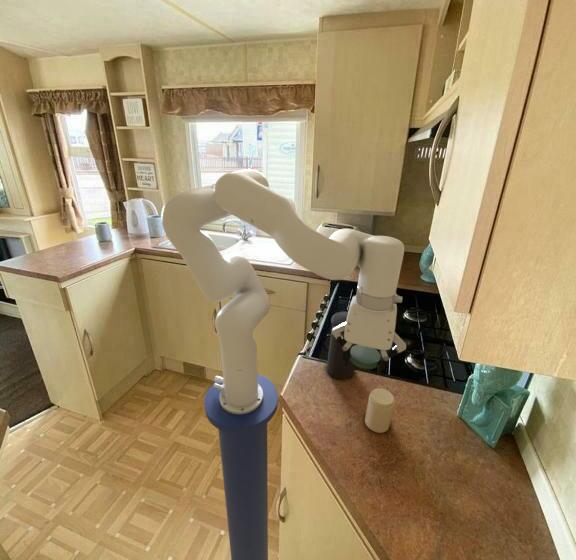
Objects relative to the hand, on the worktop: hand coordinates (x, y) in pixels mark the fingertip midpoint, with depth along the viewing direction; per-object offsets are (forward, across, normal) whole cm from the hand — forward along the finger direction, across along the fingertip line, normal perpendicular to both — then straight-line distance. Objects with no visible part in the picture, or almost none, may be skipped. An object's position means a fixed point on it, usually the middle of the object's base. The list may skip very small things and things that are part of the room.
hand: (363, 365), depth 71 cm
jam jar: (+20, -6, -4) cm, 21 cm away
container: (+20, +7, -20) cm, 30 cm away
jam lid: (-3, 0, 0) cm, 3 cm away
